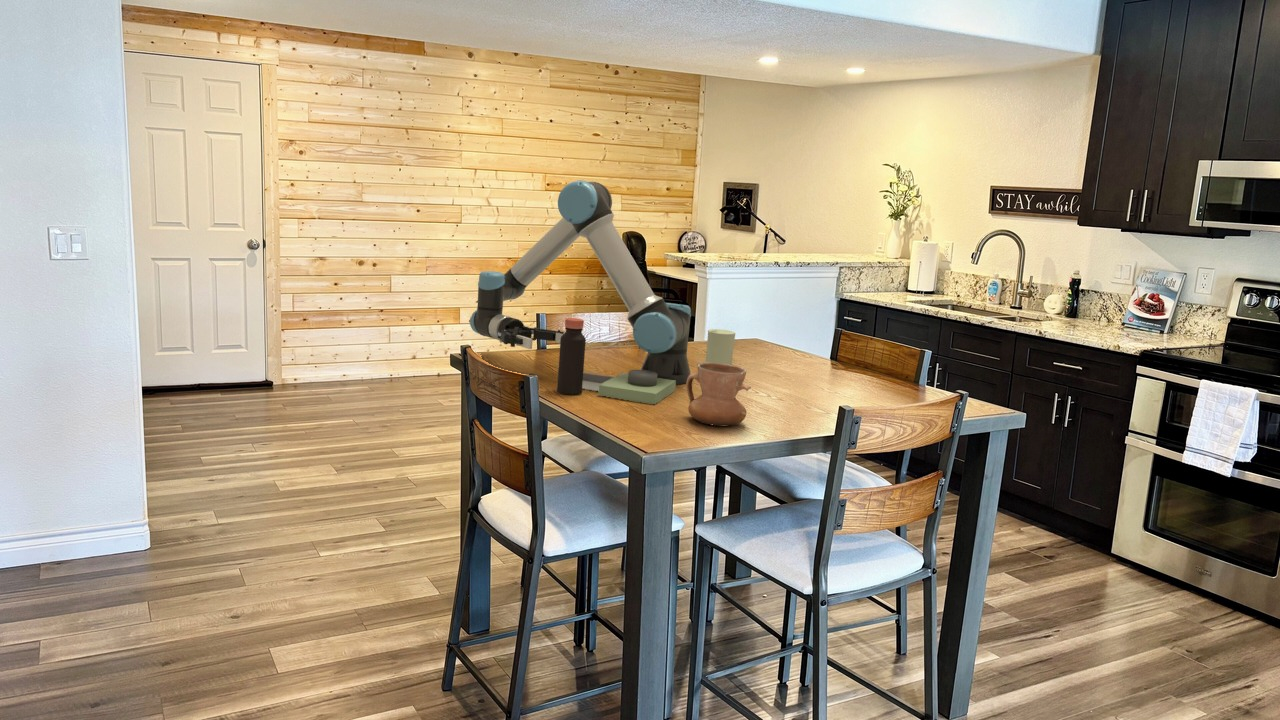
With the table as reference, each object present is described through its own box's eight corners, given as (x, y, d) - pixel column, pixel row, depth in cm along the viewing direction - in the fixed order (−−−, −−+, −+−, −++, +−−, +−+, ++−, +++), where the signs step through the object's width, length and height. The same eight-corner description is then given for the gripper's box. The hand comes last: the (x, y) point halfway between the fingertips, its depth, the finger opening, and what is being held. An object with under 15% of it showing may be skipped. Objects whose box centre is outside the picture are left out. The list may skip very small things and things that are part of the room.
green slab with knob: (583, 377, 271) (584, 357, 270) (675, 390, 263) (676, 370, 262) (557, 389, 252) (558, 368, 251) (655, 404, 245) (657, 382, 243)
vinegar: (583, 395, 248) (589, 322, 244) (558, 394, 246) (563, 320, 243) (580, 389, 254) (585, 318, 251) (555, 389, 253) (560, 316, 249)
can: (700, 362, 310) (703, 327, 308) (725, 363, 313) (729, 328, 311) (710, 368, 301) (714, 332, 299) (736, 368, 304) (740, 333, 302)
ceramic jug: (759, 425, 232) (766, 370, 230) (729, 434, 221) (735, 376, 218) (700, 410, 243) (705, 357, 240) (668, 418, 231) (673, 363, 229)
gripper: (541, 340, 279) (585, 353, 264) (470, 344, 262) (512, 359, 247) (542, 315, 278) (587, 327, 262) (471, 318, 261) (514, 331, 246)
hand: (551, 342), depth 255 cm, fingers open, 13 cm apart
